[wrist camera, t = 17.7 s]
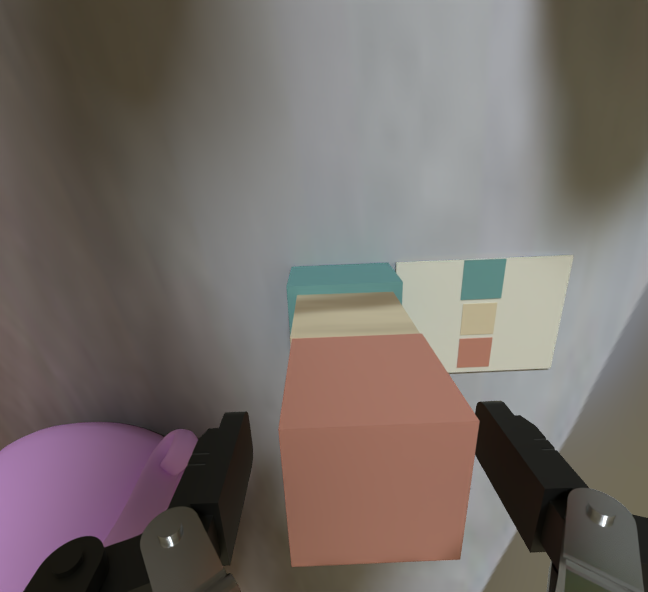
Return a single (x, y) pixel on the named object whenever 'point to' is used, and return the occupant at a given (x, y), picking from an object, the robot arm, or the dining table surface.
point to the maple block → (350, 315)
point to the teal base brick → (341, 281)
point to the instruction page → (488, 309)
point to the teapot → (82, 489)
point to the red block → (374, 452)
